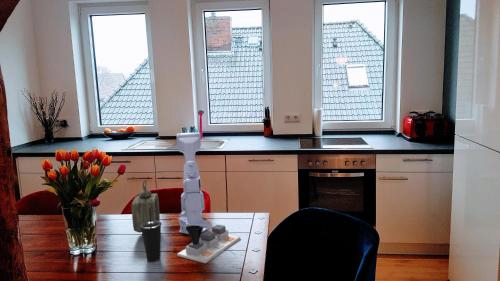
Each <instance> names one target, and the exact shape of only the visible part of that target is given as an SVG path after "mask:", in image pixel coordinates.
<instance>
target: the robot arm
mask: <svg viewBox="0 0 500 281" xmlns="http://www.w3.org/2000/svg"><path fill="white" fill-rule="evenodd" d="M201 140H202V137H201V133H200V132H199V131H197V132H181V133H179V132H178V133H176V146H177V150H178V152H179V153H183V156H184V160H185V161H184V162H185V163H184V164H183V181H182V183H183V184H182V185H183V192H182V193H181V195H180V198H181V199H180V204H181V206H180V207H181V212H180V214H179V217H178V218H177V221H178V223H177V224H179V233H180V234H181V233H182V234H186V235H189V237H190V239H191V243H193V244H194V245H196V244H198V243H199V240H200V238H201V234H202V233H204V232H205V231H208V230H210V229H212V227H213V226H212V225H213V224H212V222H210V221H207V220H205V219H204V218H203V214H202V213H203V211H204V210H205V198H204V193H203V192H202V191H203V190H202V180H201V175H200V170H199V169H200V168H199V164H198V163H197V162H196V152H199V151H200V150H201V146H202V141H201Z"/></svg>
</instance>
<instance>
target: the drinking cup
mask: <svg viewBox="0 0 500 281" xmlns="http://www.w3.org/2000/svg"><path fill="white" fill-rule="evenodd" d="M149 218H150V220H149V221H146V222H144V223H142V224H141V225H140V227H141V229H142V232H141V234H142V235H143V237H142V240H143V245H144V246H143V247H144V251H145V256H146V261H147V262H149V263H155V262H158V261H159V260H160V259H161V248H162V246H161V238H162V236H161V234H162V225H163V224H162V222H161V221H156V220H152V219H151V208H149Z"/></svg>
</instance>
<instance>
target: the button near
mask: <svg viewBox="0 0 500 281" xmlns="http://www.w3.org/2000/svg"><path fill="white" fill-rule="evenodd" d="M188 245H189V247H191V248H195V249H198V248H199V247H201V246H203V245H204V244H203V242H199V243H198V244H196V245H194V244H193V243H192V242H190V243H189V244H188Z"/></svg>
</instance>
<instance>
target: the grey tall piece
mask: <svg viewBox="0 0 500 281" xmlns="http://www.w3.org/2000/svg"><path fill="white" fill-rule="evenodd" d="M159 202H160V201H159V194H158V193H152V192H151V190H149V189H147V179H145V178H144V179H143V181H142V190H141V191H140V193H139V194H138V195H137V196H135V197H134V199H133V201H132V202H131V220H132V227H133V228H132V229H133V231H134V232H137V233H141V235H140V236H141V237H142V238H143V235H142V229H141V227H140V225H141V224H142V223H144V222H146V221H149V220H150V218H149V208H151V219H152V220H156V221H160V220H161V219H160V218H161V217H160V203H159ZM160 222H161V221H160Z"/></svg>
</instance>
